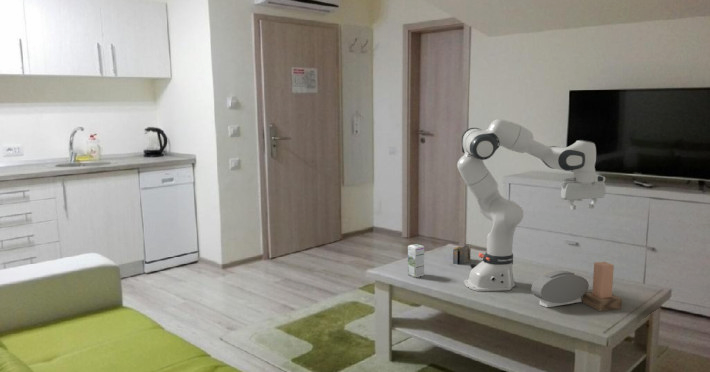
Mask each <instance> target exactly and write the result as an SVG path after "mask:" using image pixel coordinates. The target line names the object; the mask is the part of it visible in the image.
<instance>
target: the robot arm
mask: <svg viewBox="0 0 710 372" xmlns="http://www.w3.org/2000/svg"><path fill="white" fill-rule="evenodd" d="M500 147H502V148H505V149H506V150H509V151H512V152H515V153H520V154H524V153H526V154H529V155H530V156H533V157H535V158H538V159H540V160H541V161H542V163H543V164H544V165H545V166H547V167H548V168H550V169H553V170H554V169H555V170H560V171H564V172H570V171H572V177H570V178H568V177H567V178H565V179H564V180H563V181H562V186H561V191H560V198H561V199H562V200H563V201H564V200H565V201H568V204H569V206H570V207H569V209H570V210H571V211H572V210H573V211H574V210H577V209H576V208H577V207H576V205H575V204H574V202H575V200H588V199H589V200H590V199H591V202H590V204H588V208H589V209H595V204H596V203H597V202H598V199H603V198H605V196H606V191H607V190H606V183H605V181H606V176H602V175H599V174H597V173H596V168H595V167H596V162H597V147H596V144H595V142H593V141H589V140H584V139H579V140H578V139H577V140H576V141H575V142H574V143H572V144H570V145H569V146H567V147H560V146H556V145H551V146H550V145H545V144H543V143H541V142H538V141H537V140H535V139H534V134H533V132H532V131H531V130H529V129H528V128H526V127H524V126H522V125H520V124H518V123H515V122H512V121H511V120H510V121H509V120H505V119H502V118H501V119H500V118H497V119H494V120H493V121H492V122H491V123H490V124H489V125H488V128H487V129H485V130H483V129H482V128H478V127H470V128H467V129H466V130H465V131H464V132H463V134H461V149H462V150H461V152H462V153H463V154H464V155H462V156H461V157H460V158H459V159H458V160H457V165H456V166H457V170H458V173H460V177H462V179H463V181H464V182H465V185H466V186H467V187H468V188H469V190H470V192H471V193H472V194H473V195H474V197H475V199H476V201H477V203H478V206H479V207H478V208H479V211H480V213H481V214H482V216H483V217H484V218H486V219H488V220H490V221H492V227H491V230H490V232H488V234H487V235H486V252H485V254H484V253H482V252H479V253H478V257H479V258H481V259H482V261H481V262H479V263H478V264H476V265H475V266H474V267H473V268H471V270H470V272H469V275H468V278H467V279H464V280H463V284H464V286H466V287H467V288H468V287H469V288H468V289H470V290H473V291H475V292H492V291H494V292H498V291H500V292H501V291H511V290H512V289H513V287H515V286H516V282H515V279H514V272H513V264H514V253H513V248H514V247H513V243H514V235H515V232H516V229H517V226H518V225H519V224H520V223H521V222H522V221H523V219H524V210H523V208H522V206H520V204H518V203H516V202H515V201H513V200H510V199H506V198H505V197H503V196H502V195H501V193H500V191H499V189H498V188H499V184H498V181H496V179H495V177H494V176H493V175H492V173H491V171H489V169H488V167H487V166H486V165H485V162H484V161H485V160H488V159H490V158H491V157H493V156H494V154H495V152H496V151H497V150H498V149H499V148H500Z"/></svg>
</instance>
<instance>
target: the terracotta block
mask: <svg viewBox="0 0 710 372" xmlns="http://www.w3.org/2000/svg"><path fill="white" fill-rule="evenodd" d="M614 266H615V264H612V263H610V262H607V261H599V262H597V261H596V262H594V263H593V280H592V292H593V293H592V294H593V295H595V296H597V297H599V298H608V297H612V294H613V283H614Z"/></svg>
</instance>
